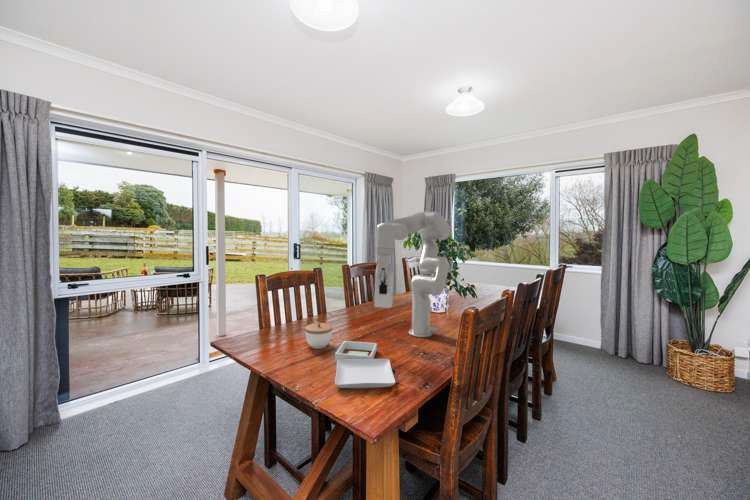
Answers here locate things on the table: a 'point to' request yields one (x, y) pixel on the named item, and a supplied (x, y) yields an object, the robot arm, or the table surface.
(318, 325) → the lidded bowl
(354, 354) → the pad
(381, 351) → the table surface
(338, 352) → the square tray
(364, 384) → the salad plate
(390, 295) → the milk carton
